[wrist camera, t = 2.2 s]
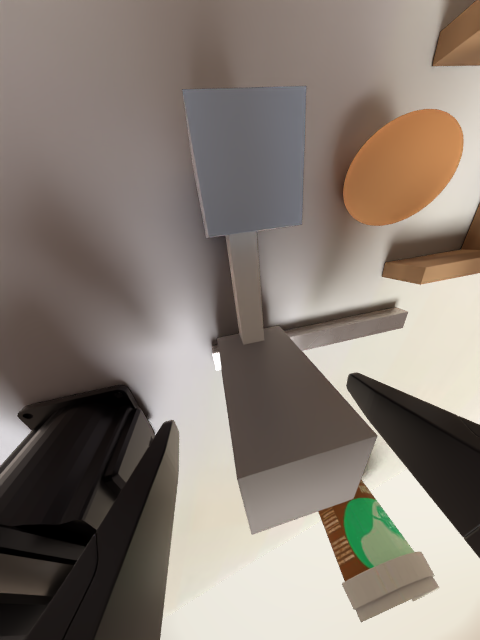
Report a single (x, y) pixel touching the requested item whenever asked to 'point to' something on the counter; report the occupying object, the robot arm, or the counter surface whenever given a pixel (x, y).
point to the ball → (403, 167)
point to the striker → (253, 340)
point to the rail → (340, 330)
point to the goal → (476, 253)
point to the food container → (374, 556)
